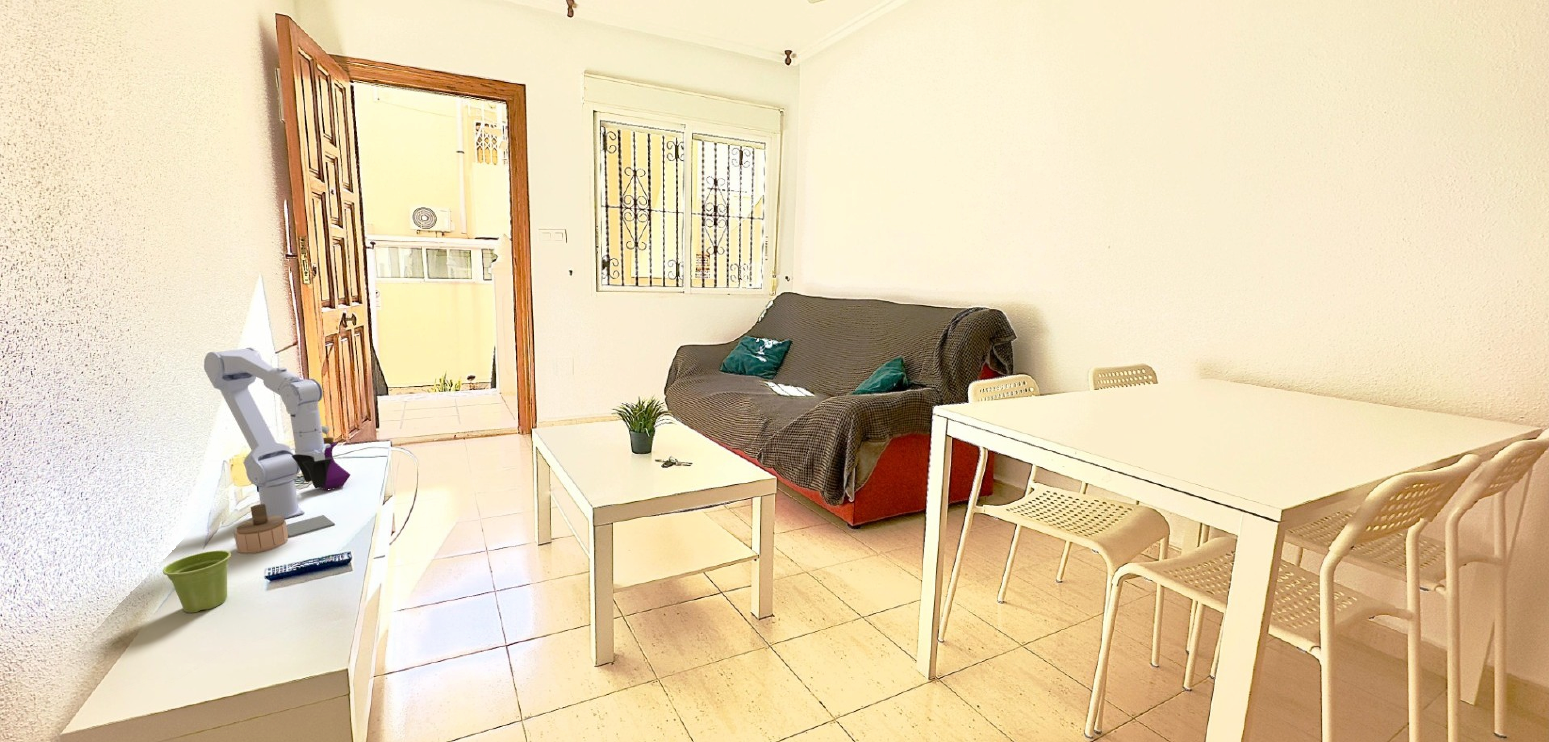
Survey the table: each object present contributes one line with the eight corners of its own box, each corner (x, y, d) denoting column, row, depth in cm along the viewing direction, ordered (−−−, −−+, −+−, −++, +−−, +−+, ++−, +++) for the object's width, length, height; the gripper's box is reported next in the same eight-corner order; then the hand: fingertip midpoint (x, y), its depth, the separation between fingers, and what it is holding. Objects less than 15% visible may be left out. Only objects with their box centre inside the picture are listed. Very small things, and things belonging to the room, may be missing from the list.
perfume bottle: (352, 485, 185) (343, 425, 182) (323, 493, 179) (314, 431, 176) (340, 481, 189) (331, 422, 186) (311, 489, 183) (302, 428, 180)
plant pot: (199, 620, 114) (190, 575, 112) (157, 616, 116) (148, 571, 114) (251, 594, 123) (243, 551, 122) (211, 590, 125) (204, 548, 123)
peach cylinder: (233, 546, 145) (230, 528, 144) (282, 533, 152) (279, 515, 151) (242, 557, 139) (239, 538, 139) (292, 543, 146) (289, 524, 145)
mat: (280, 527, 155) (279, 526, 155) (323, 516, 162) (323, 514, 162) (289, 537, 149) (289, 535, 149) (334, 525, 156) (334, 523, 156)
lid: (233, 528, 144) (229, 507, 144) (278, 516, 151) (275, 496, 150) (242, 537, 139) (239, 516, 138) (289, 524, 146) (286, 504, 145)
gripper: (336, 430, 153) (344, 485, 155) (318, 422, 162) (325, 473, 164) (300, 437, 147) (309, 493, 150) (284, 428, 157) (292, 481, 159)
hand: (315, 483), depth 156 cm, fingers open, 7 cm apart
